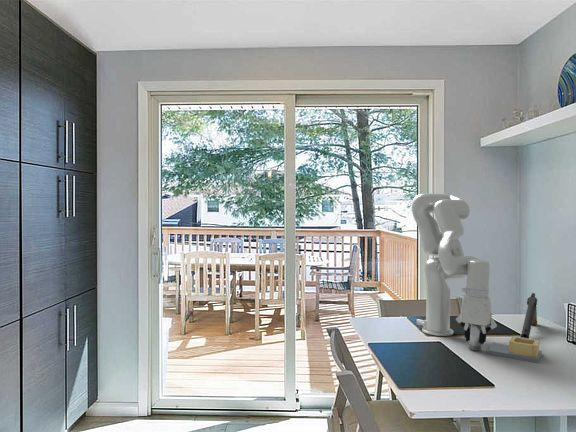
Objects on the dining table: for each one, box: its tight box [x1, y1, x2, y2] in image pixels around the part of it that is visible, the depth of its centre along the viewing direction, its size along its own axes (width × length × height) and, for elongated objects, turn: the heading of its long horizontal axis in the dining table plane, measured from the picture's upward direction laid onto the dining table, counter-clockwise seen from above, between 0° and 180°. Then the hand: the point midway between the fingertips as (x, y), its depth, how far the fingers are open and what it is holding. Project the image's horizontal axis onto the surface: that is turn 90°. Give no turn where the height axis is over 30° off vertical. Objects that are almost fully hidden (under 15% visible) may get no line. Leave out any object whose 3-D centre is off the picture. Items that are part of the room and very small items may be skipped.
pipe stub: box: [467, 324, 482, 351], centre depth 165 cm, size 4×4×9 cm
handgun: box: [520, 292, 538, 339], centre depth 192 cm, size 31×4×15 cm, turn 145°
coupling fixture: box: [487, 336, 543, 364], centre depth 162 cm, size 16×12×5 cm
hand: (475, 341), depth 166 cm, fingers closed on pipe stub, 4 cm apart
